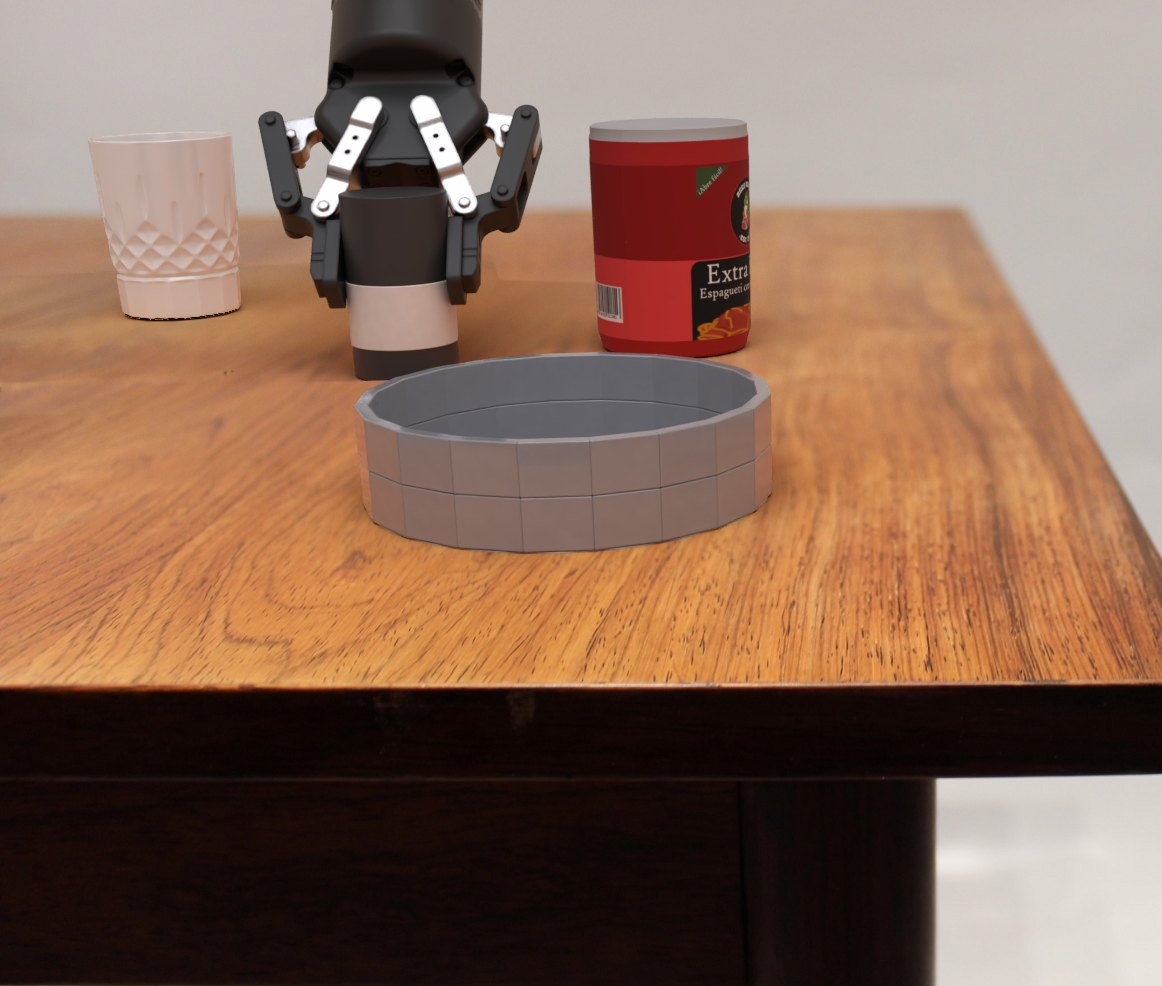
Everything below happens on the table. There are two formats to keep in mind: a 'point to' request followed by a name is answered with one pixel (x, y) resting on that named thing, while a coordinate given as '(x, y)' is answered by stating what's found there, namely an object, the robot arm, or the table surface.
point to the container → (397, 280)
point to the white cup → (170, 220)
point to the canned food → (671, 235)
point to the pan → (564, 451)
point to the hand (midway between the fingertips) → (394, 295)
